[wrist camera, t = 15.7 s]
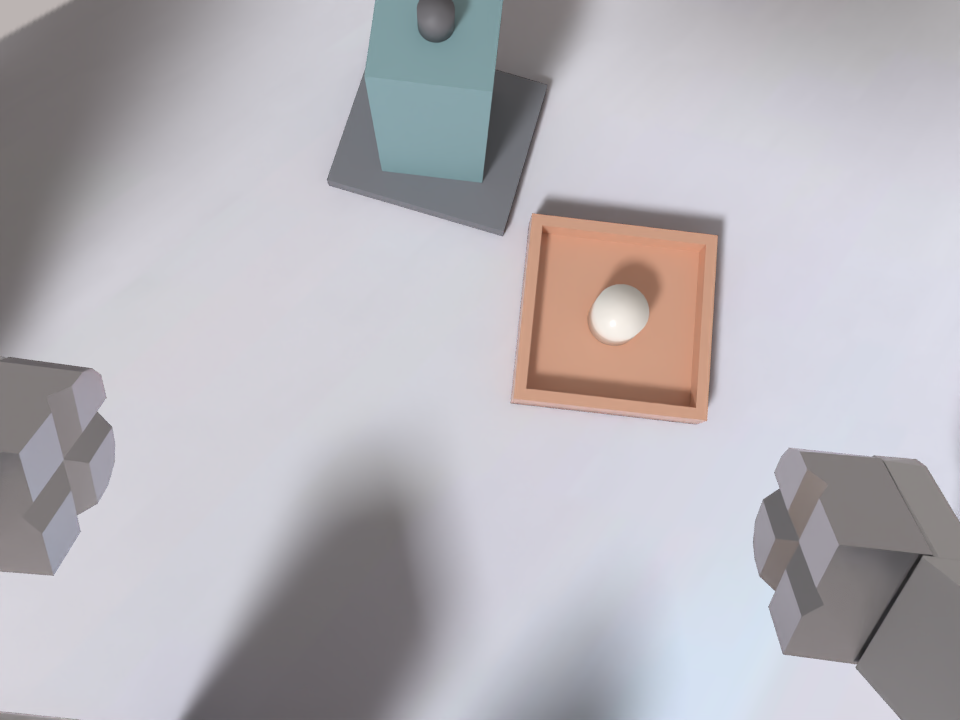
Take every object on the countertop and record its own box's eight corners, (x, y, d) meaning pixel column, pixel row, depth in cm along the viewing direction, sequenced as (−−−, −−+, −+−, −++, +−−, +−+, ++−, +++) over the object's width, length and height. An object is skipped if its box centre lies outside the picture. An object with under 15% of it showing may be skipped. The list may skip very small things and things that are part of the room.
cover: (382, 170, 45) (361, 61, 34) (394, 78, 46) (378, -58, 35) (482, 182, 45) (494, 77, 34) (492, 90, 46) (507, -42, 35)
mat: (328, 185, 45) (326, 179, 45) (378, 43, 47) (376, 35, 46) (502, 236, 45) (503, 231, 45) (545, 91, 47) (547, 84, 46)
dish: (510, 403, 44) (515, 396, 41) (528, 224, 46) (534, 206, 43) (696, 424, 44) (713, 418, 41) (707, 245, 46) (724, 229, 43)
